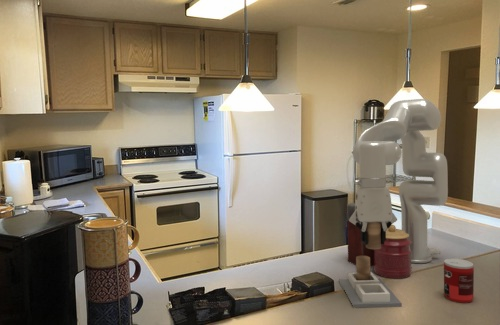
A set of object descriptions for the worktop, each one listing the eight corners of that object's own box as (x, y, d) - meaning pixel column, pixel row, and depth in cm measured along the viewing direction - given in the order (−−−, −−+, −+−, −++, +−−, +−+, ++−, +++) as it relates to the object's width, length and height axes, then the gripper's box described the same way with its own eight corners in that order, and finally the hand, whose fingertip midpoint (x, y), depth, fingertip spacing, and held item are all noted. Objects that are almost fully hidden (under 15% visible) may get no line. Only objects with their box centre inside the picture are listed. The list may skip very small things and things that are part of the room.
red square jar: (385, 263, 152) (384, 191, 150) (362, 268, 147) (361, 194, 146) (370, 257, 160) (369, 189, 158) (347, 261, 156) (346, 191, 154)
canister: (387, 281, 134) (387, 230, 132) (366, 269, 146) (366, 222, 145) (419, 276, 137) (419, 226, 136) (396, 265, 150) (396, 219, 148)
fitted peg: (368, 281, 131) (367, 255, 130) (372, 286, 127) (371, 259, 126) (355, 282, 131) (354, 255, 130) (358, 287, 127) (358, 259, 126)
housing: (379, 281, 134) (379, 271, 134) (401, 306, 114) (401, 294, 114) (339, 282, 134) (338, 272, 134) (353, 307, 114) (353, 296, 114)
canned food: (447, 290, 124) (447, 256, 123) (475, 296, 119) (476, 261, 118) (440, 299, 118) (440, 263, 117) (470, 305, 113) (471, 268, 112)
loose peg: (383, 249, 116) (382, 219, 115) (368, 249, 116) (367, 219, 115) (378, 245, 120) (378, 216, 120) (364, 245, 120) (363, 216, 120)
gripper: (347, 185, 113) (348, 247, 114) (405, 184, 113) (406, 246, 114) (341, 182, 121) (342, 241, 122) (396, 181, 120) (396, 239, 122)
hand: (373, 242), depth 118 cm, fingers closed on loose peg, 4 cm apart
